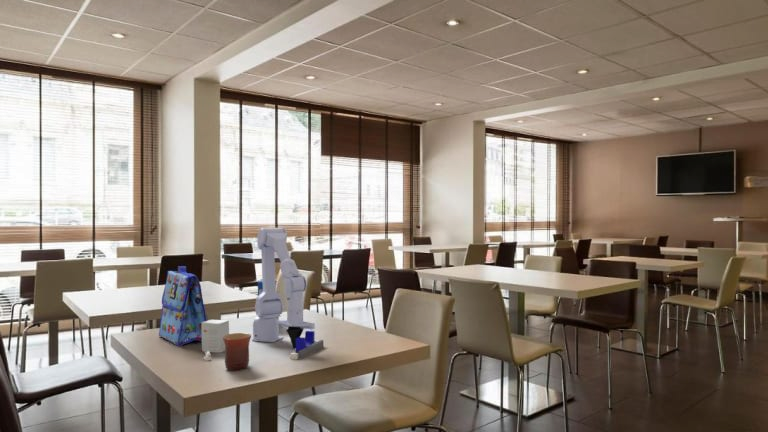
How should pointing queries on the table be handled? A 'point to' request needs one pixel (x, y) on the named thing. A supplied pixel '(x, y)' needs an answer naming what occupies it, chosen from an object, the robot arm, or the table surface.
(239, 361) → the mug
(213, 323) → the small box
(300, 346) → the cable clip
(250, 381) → the table surface
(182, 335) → the lunch bag
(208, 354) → the power adapter
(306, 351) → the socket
